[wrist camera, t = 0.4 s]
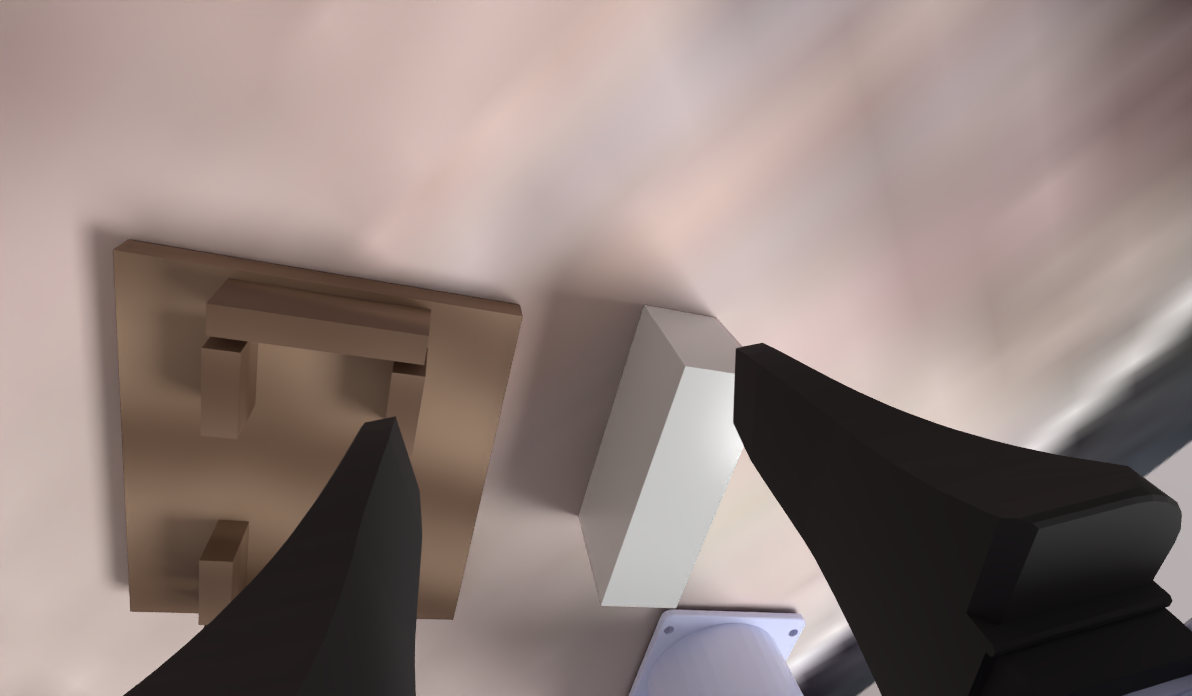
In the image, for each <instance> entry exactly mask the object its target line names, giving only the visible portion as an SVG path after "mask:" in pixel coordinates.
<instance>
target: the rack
mask: <svg viewBox="0 0 1192 696" xmlns="http://www.w3.org/2000/svg"><path fill="white" fill-rule="evenodd" d="M113 260H114V281H115V302H116V323H117V343H118V364H119V385H120V406H121V427H122V448H123V468H124V489H125V510H126V531H127V552H128V572H129V593H130V611H132V612H171V613H199V625H205V626H204V628H205V627H206V626H207V625H208V624H209V623H210V622H211V621H212V620H213V619H214V618H215V617H216V616H217V615H218V614H219V613H220V612H221V611H222V610H223V609H224V608H225V607H226V606H227V605H228V604H229V603H230V602H231V601H232V600H233V599H234V598H235V597H236V596H237V595H238V594H239V593H240V592H241V591H242V590H243V589H244V588H245V587H246V586H247V585H248V584H249V583H250V582H251V581H252V580H253V579H254V578H255V577H256V576H257V575H258V574H259V572H260V571H261V570H262V569H263V568H264V567H265V566H266V564H267V563H268V562H269V561H270V560H271V559H272V558H273V556H274V555H275V554H276V553H277V552H278V550H279V549H280V548H281V547H282V545H283V544H284V543H285V542H286V540H287V539H288V538H289V537H290V535H291V534H292V533H293V531H294V530H295V528H296V527H297V526H298V524H299V523H300V522H301V520H302V519H303V517H304V516H305V515H306V513H307V512H308V511H309V509H310V508H311V506H312V505H313V504H314V502H315V501H316V499H317V498H318V496H319V495H320V493H321V492H322V490H323V489H324V487H325V485H326V484H327V482H328V481H329V479H330V478H331V476H332V475H333V473H334V472H335V470H336V468H337V467H338V465H339V463H340V462H341V460H342V458H343V457H344V455H345V453H346V452H347V450H348V448H349V447H350V445H351V443H352V442H353V440H354V438H355V436H356V435H357V433H358V431H359V430H360V428H361V427H362V425H363V424H364V423H365V422H370V421H375V420H380V419H385V418H390V417H395V416H396V419H397V422H398V425H399V428H400V431H401V434H402V437H403V440H404V443H405V447H406V450H407V453H408V456H409V459H410V462H411V465H412V468H413V471H414V474H415V477H416V481H417V484H418V487H419V490H420V502H421V517H422V550H421V564H420V578H419V592H418V605H417V619H449V620H453V618H454V613H455V609H456V605H457V600H458V596H459V592H460V587H461V583H462V578H463V574H464V570H465V565H466V561H467V557H468V552H469V548H470V544H471V539H472V535H473V530H474V526H475V522H476V517H477V513H478V509H479V504H480V500H481V496H482V491H483V487H484V482H485V478H486V474H487V469H488V465H489V461H490V456H491V452H492V448H493V443H494V439H495V434H496V430H497V426H498V421H499V417H500V413H501V408H502V404H503V399H504V395H505V391H506V386H507V382H508V378H509V373H510V369H511V365H512V360H513V356H514V351H515V347H516V343H517V338H518V334H519V330H520V325H521V321H522V317H523V316H522V312H521V307H520V305H517V304H511V303H505V302H499V301H493V300H487V299H481V298H475V297H469V296H463V295H457V294H451V293H445V292H439V291H433V290H427V289H421V288H415V287H409V286H403V285H397V284H391V283H385V282H379V281H373V280H367V279H361V278H355V277H349V276H343V275H337V274H331V273H325V272H319V271H313V270H307V269H301V268H295V267H289V266H283V265H277V264H271V263H265V262H259V261H253V260H247V259H241V258H236V257H230V256H224V255H218V254H212V253H206V252H200V251H194V250H188V249H182V248H176V247H170V246H164V245H158V244H152V243H146V242H140V241H134V240H127V241H126V242H124V243H123V244H121V245H120V246H118V247H117V248H115V249H114V250H113Z"/></svg>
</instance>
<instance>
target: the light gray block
mask: <svg viewBox="0 0 1192 696" xmlns="http://www.w3.org/2000/svg"><path fill="white" fill-rule="evenodd" d="M739 347H742V346H741V344H740V343H739V342H738V341H737V340H736V339H735V338H734V337H733V335H732V334H731V333H730V332H729V331H728V330H727V329H726V328H725V326H724V325H723V324H722V323H721V322H720V321H719V320H718V319H717V318H715V317H710V316H704V315H699V314H693V313H687V312H682V311H676V310H671V309H665V308H659V307H654V306H648V305H644V307H643V310H642V313H641V316H640V319H639V323H638V326H637V329H636V332H635V336H634V339H633V342H632V345H631V348H630V352H629V355H628V358H627V361H626V364H625V368H624V371H623V374H622V377H621V381H620V384H619V387H618V390H617V393H616V397H615V400H614V403H613V406H612V409H611V413H610V416H609V419H608V422H607V426H606V429H605V432H604V435H603V438H602V442H601V445H600V448H599V451H598V454H597V458H596V461H595V464H594V467H593V471H592V474H591V477H590V480H589V483H588V487H587V490H586V493H585V496H584V499H583V503H582V506H581V509H580V512H579V520H580V524H581V528H582V532H583V536H584V540H585V544H586V548H587V552H588V556H589V560H590V564H591V568H592V572H593V576H594V580H595V584H596V588H597V592H598V596H599V600H600V604H601V606H622V607H652V608H676V607H677V605H678V602H679V600H680V598H681V595H682V593H683V590H684V588H685V586H686V583H687V581H688V578H689V576H690V574H691V571H692V569H693V566H694V564H695V562H696V559H697V557H698V554H699V552H700V550H701V547H702V545H703V543H704V540H705V538H706V535H707V533H708V531H709V528H710V526H711V523H712V521H713V519H714V516H715V514H716V511H717V509H718V507H719V504H720V502H721V499H722V497H723V495H724V492H725V490H726V487H727V485H728V483H729V480H730V478H731V475H732V473H733V471H734V468H735V466H736V463H737V461H738V459H739V456H740V454H741V451H742V449H743V447H744V445H743V443H742V441H741V439H740V437H739V435H738V432H737V430H736V428H735V426H734V424H733V409H734V381H735V354H736V348H739Z"/></svg>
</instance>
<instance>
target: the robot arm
mask: <svg viewBox="0 0 1192 696" xmlns="http://www.w3.org/2000/svg"><path fill="white" fill-rule="evenodd" d="M733 424H734V426H735V428H736V430H737V432H738V435H739V437H740V439H741V441H742V443H743V445H744V447H745V449H746V451H747V453H748V455H749V457H750V459H751V461H752V463H753V464H754V466H755V468H756V469H757V471H758V472H759V474H760V475H761V477H762V478H763V480H764V481H765V483H766V484H767V486H768V487H769V489H770V490H771V492H772V493H773V495H774V496H775V498H776V499H777V501H778V502H779V504H780V505H781V507H782V508H783V510H784V511H785V513H786V514H787V516H788V517H789V519H790V520H791V522H792V523H793V525H794V526H795V528H796V529H797V531H798V532H799V534H800V535H801V537H802V538H803V540H804V541H805V543H806V545H807V546H808V548H809V549H810V551H811V553H812V554H813V556H814V558H815V559H816V561H817V563H818V565H819V567H820V569H821V571H822V573H823V575H824V577H825V579H826V580H827V582H828V584H829V586H830V588H831V590H832V592H833V594H834V596H835V598H836V600H837V602H838V604H839V606H840V608H841V610H842V612H843V614H844V616H845V618H846V620H847V622H848V624H849V626H850V628H851V630H852V632H853V634H854V636H855V638H856V640H857V642H858V645H859V647H860V649H861V651H862V653H863V655H864V658H865V660H866V662H867V664H868V666H869V668H870V671H871V673H872V675H873V677H874V679H875V681H876V684H877V686H878V688H879V690H880V692H881V694H882V696H1192V618H1191V619H1189V620H1188V621H1187V622H1186V623H1185V624H1183V623H1182V622H1181V621H1180V620H1179V619H1177V618H1176V617H1175V616H1174V615H1173V614H1172V613H1171V612H1169V611H1168V610H1167V609H1166V608H1165V607H1168V606H1170V604H1171V602H1172V599H1171V596H1170V595H1169V594H1168V593H1167V592H1166V591H1165V590H1164V589H1162V588H1161V587H1160V586H1159V585H1158V584H1157V583H1155V582H1154V581H1153V579H1154V577H1155V575H1156V574H1157V572H1158V570H1159V569H1160V567H1161V565H1162V563H1163V562H1164V560H1165V558H1166V556H1167V555H1168V553H1169V551H1170V550H1171V548H1172V546H1173V545H1174V543H1175V541H1176V538H1177V536H1178V534H1179V532H1180V529H1181V517H1182V516H1181V515H1182V514H1181V510H1180V508H1179V506H1178V503H1177V502H1176V501H1175V500H1173V499H1172V498H1171V497H1169V496H1168V495H1167V494H1165V493H1164V492H1162V491H1161V490H1159V489H1158V488H1157V487H1156V486H1154V485H1153V484H1152V483H1150V482H1149V481H1148V480H1146V479H1145V478H1143V477H1142V476H1141V475H1139V474H1138V473H1137V472H1135V471H1134V470H1133V469H1131V468H1130V467H1128V466H1123V465H1117V464H1111V463H1104V462H1098V461H1092V460H1085V459H1079V458H1072V457H1066V456H1060V455H1055V454H1050V453H1046V452H1041V451H1036V450H1031V449H1027V448H1022V447H1017V446H1013V445H1009V444H1005V443H1001V442H997V441H993V440H989V439H986V438H982V437H979V436H975V435H972V434H969V433H965V432H962V431H958V430H955V429H952V428H949V427H945V426H942V425H939V424H936V423H934V422H931V421H928V420H925V419H923V418H920V417H917V416H914V415H912V414H909V413H906V412H904V411H901V410H899V409H896V408H894V407H891V406H889V405H887V404H884V403H882V402H880V401H878V400H875V399H873V398H871V397H869V396H866V395H864V394H862V393H860V392H858V391H856V390H854V389H851V388H849V387H847V386H845V385H843V384H841V383H839V382H837V381H835V380H833V379H831V378H829V377H827V376H826V375H824V374H822V373H820V372H818V371H816V370H814V369H812V368H810V367H808V366H807V365H805V364H803V363H801V362H799V361H797V360H795V359H793V358H792V357H790V356H788V355H786V354H784V353H782V352H780V351H778V350H776V349H774V348H772V347H770V346H768V345H766V344H764V343H759V344H754V345H749V346H744V347H739V348H736V354H735V381H734V409H733ZM421 550H422V517H421V502H420V490H419V487H418V484H417V481H416V477H415V474H414V471H413V468H412V465H411V462H410V459H409V456H408V453H407V450H406V447H405V443H404V440H403V437H402V434H401V431H400V428H399V425H398V422H397V419H396V416H395V417H390V418H385V419H380V420H375V421H370V422H365V423H364V424H363V425H362V427H361V428H360V430H359V431H358V433H357V435H356V436H355V438H354V440H353V442H352V443H351V445H350V447H349V448H348V450H347V452H346V453H345V455H344V457H343V458H342V460H341V462H340V463H339V465H338V467H337V468H336V470H335V472H334V473H333V475H332V476H331V478H330V479H329V481H328V482H327V484H326V485H325V487H324V489H323V490H322V492H321V493H320V495H319V496H318V498H317V499H316V501H315V502H314V504H313V505H312V506H311V508H310V509H309V511H308V512H307V513H306V515H305V516H304V517H303V519H302V520H301V522H300V523H299V524H298V526H297V527H296V528H295V530H294V531H293V533H292V534H291V535H290V537H289V538H288V539H287V540H286V542H285V543H284V544H283V545H282V547H281V548H280V549H279V550H278V552H277V553H276V554H275V555H274V556H273V558H272V559H271V560H270V561H269V562H268V563H267V564H266V566H265V567H264V568H263V569H262V570H261V571H260V572H259V574H258V575H257V576H256V577H255V578H254V579H253V580H252V581H251V582H250V583H249V584H248V585H247V586H246V587H245V588H244V589H243V590H242V591H241V592H240V593H239V594H238V595H237V596H236V597H235V598H234V599H233V600H232V601H231V602H230V603H229V604H228V605H227V606H226V607H225V608H224V609H223V610H222V611H221V612H220V613H219V614H218V615H217V616H216V617H215V618H214V619H213V620H212V621H211V622H210V623H209V624H208V625H207V626H206V627H205V628H204V629H203V630H201V631H200V632H199V633H198V634H197V635H196V636H195V637H194V638H193V639H191V640H190V641H189V642H188V643H187V644H186V645H185V646H184V647H182V648H181V649H180V650H179V651H178V652H177V653H175V654H174V655H173V656H172V657H171V658H169V659H168V660H167V661H166V662H165V663H164V664H162V665H161V666H160V667H159V668H158V669H156V670H155V671H154V672H153V673H152V674H150V675H149V676H148V677H147V678H145V679H144V680H143V681H142V682H140V683H139V684H138V685H136V686H135V687H134V688H132V689H131V690H130V691H128V692H127V693H126V694H125V695H123V696H416V692H415V632H416V619H417V605H418V592H419V578H420V564H421ZM804 626H805V620H804V618H803V616H802V615H801V614H797V613H766V612H736V611H705V610H675V609H672V610H667V611H665V612H664V613H663V614H662V615H661V617H660V619H659V622H658V624H657V627H656V629H655V632H654V634H653V637H652V639H651V641H650V644H649V646H648V649H647V651H646V654H645V656H644V659H643V661H642V664H641V666H640V669H639V671H638V673H637V676H636V678H635V681H634V683H633V686H632V688H631V691H630V693H629V696H803V694H802V692H801V690H800V688H799V686H798V685H797V683H796V681H795V679H794V677H793V675H792V673H791V671H790V669H789V667H788V665H787V663H786V660H787V658H788V656H789V654H790V652H791V650H792V649H793V647H794V645H795V643H796V641H797V639H798V637H799V636H800V634H801V632H802V630H803V628H804Z"/></svg>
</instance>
